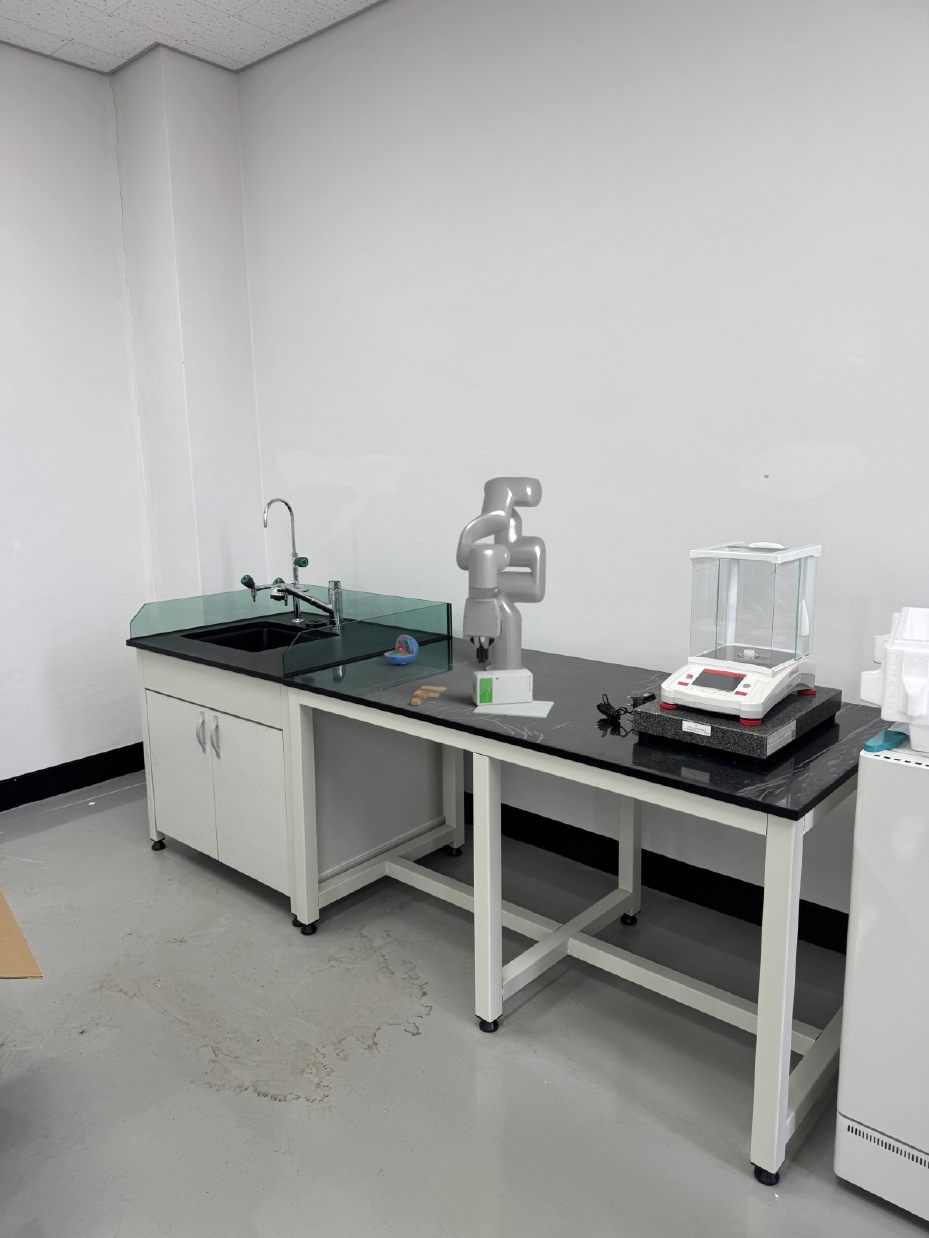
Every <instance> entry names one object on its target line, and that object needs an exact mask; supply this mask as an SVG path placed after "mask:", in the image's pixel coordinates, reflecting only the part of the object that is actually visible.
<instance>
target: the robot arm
mask: <svg viewBox="0 0 929 1238" xmlns="http://www.w3.org/2000/svg"><path fill="white" fill-rule="evenodd" d="M483 492H484V497H483V502H482V506H481V512H480V515H478V516H477V517H475V518H474V519H472V520H471V521H470V522H469V523H468V524H466V526H464V527H463V529H462V530H461V533H460V535H459V539H458V544H457V547H456V555H455V557H456V558H455V560H456V565H457V567H458V568H459V569H460V570H462V571H466V572H467V571H468V587H467V588H468V593H467V594H468V597H466V599H465V602H464V603H465V604H464V610H463V616H462V617H463V618H462V620H463V621H462V633H463V634H462V639H463V640H466V641H469V642H470V643H472V645H474V648H476V649H475V650H476V653H475V654H476V655H475V657H476V660H477V662H478V664H485V663H486V662H487V661H488V660H489V656H490V665H488V666H486V667H485V671H498V670H518V669H527V667H526V666H524V665H522V636H523V634H522V632H523V631H522V629H523V626H522V625H523V624H522V623H523V619H522V614H521V612H520V610H519V609H518V607H517V605H515V604H517V603H523V604H525V603H526V604H537V603H541V602H542V601H543V600H544V598H545V595H546V580H547V579H546V578H547V577H546V575H547V574H546V573H547V571H546V569H547V549H546V544H545V541H544V540H543V539H542V538H541V537H539V536H531V535H528V536H527V535H523V520H522V516H521V515H520V513H519V511H517V509H516V508H515V507H517V508H536V507H538V506H539V505H540V502H541V501H542V497H543V489H542V484H541V482H540V480H539V479H538V478H533V477H528V476H527V477H526V476H511V477H510V476H499V477H494V478H491V479H489V480H487V481H485V483H484V486H483ZM493 535H494V536H493ZM491 536H493V543H485V542H478V541H480V540H482V539H484V538H489V537H491ZM509 567H510V568H528V569H529V570H530V571H514V570H513V571H511V570H509V571H508V570H507V571H506V569H507V568H509ZM482 638H484V642H483V643H482ZM489 648H490V649H489ZM489 651H490V652H489ZM489 654H490V655H489Z"/></svg>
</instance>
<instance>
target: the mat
mask: <svg viewBox="0 0 929 1238" xmlns="http://www.w3.org/2000/svg"><path fill="white" fill-rule="evenodd" d="M554 703H555V702H554V701H545V700H534V699H532V702H525V703H508V704H492V705H477V707H476V708H474V710H473V711H472V714H478V715H492V716H504V715H506V716H507V717H519V718H520V717H521V718H535V719H546V718H547V716H548V715H549V713H550V711H551V709H552V708H553V706H554ZM506 716H505V717H506Z"/></svg>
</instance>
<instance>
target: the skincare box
mask: <svg viewBox="0 0 929 1238" xmlns="http://www.w3.org/2000/svg"><path fill="white" fill-rule="evenodd" d="M471 674H472V701H473V702H474V703H475V705H476V706H478V705H492V704H508V703H525V702H532V700H533V681H534V679H533V678H534V677H533V676H534V675H533V673H532V672H531V671H530V670H529V669H527V668H526V669H518V670H498V671H486V670H479V671H472V673H471Z"/></svg>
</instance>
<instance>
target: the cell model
mask: <svg viewBox="0 0 929 1238" xmlns="http://www.w3.org/2000/svg"><path fill="white" fill-rule="evenodd" d="M419 651H420V649H419V644H418V642H417V641H416V639H415V638H414V637H412V636H410V635H407V634H401V635H399V637H398V638H397V639H396V641H395V649H394V650H392V651H387V652H385V653H384V654H383V655H384V657H385V659H386V660H387V661H388V662H389V663H391V664H393V663H395V664H394V665H396V664H402V663H408V662H410V663H411V661H412V662H413V661H414V660H415V659H417V656H418V654H419ZM408 664H409V663H408Z"/></svg>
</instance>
